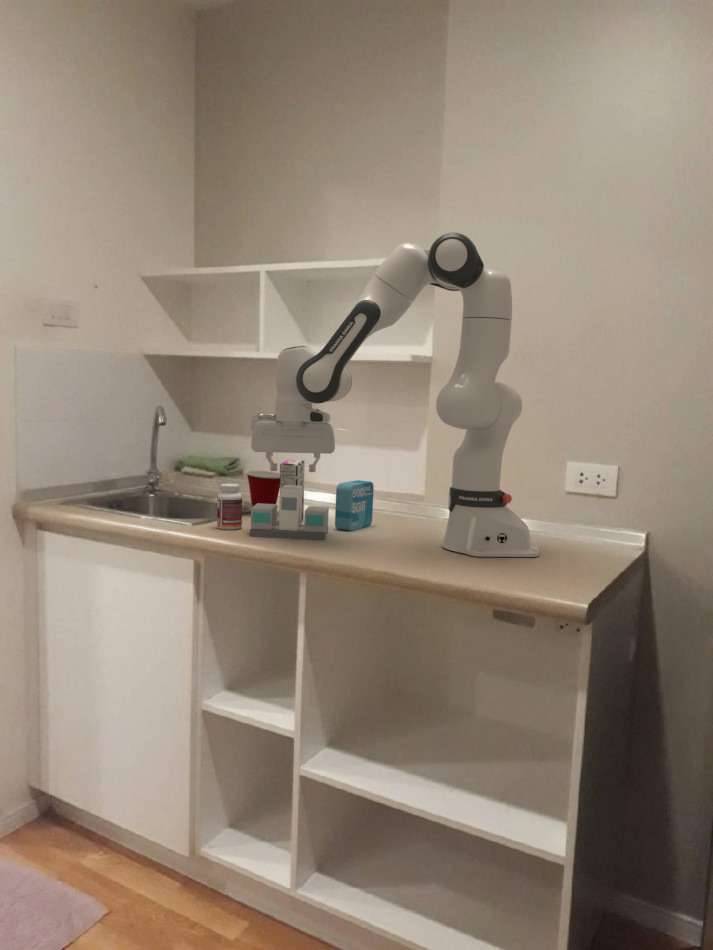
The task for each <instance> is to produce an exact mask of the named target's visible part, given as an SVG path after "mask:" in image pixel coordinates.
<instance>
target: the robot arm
mask: <svg viewBox="0 0 713 950" xmlns="http://www.w3.org/2000/svg"><path fill="white" fill-rule="evenodd" d="M427 285H431V286H434V287H438V288H441V289H443V290H447V291H450V292H458V291H459V292H460V293H461V296H462V304H463V306H462V307H463V308H462V318H461V319H462V321H461V331H460V332H461V333H460V344H459V350H458V351H459V352H458V357H457V360H456V364H455V366H454V369H453V372H452V374H451V376H450V378H449V380H448V381H447V383H446V384H445V385H444V386H443V387H441V388H442V389H441V390H440V391H439V392H438V394H437V397H436V401H435V409H436V412H437V416H438V417H439V418H440V420H441V421H442V423H444V424H445V425H448V426H450V427H453V428H457V429H459V430H466V431H465V434H464V438H463V440H462V442H461V443H460V445H459V446H458V448H457V449H455V452H454V454H453V457H452V458H453V459H452V474H451V475H452V476H451V477H452V478H451V480H452V481H451V486H450V487H449V492H448V500H447V501H448V506H447V508H448V511H449V512H448V518H447V523H446V524H447V525H446V530H445V533H444V536H443V540H442V542H441V547H442V548H444V549H446V550H448V551H453V552H455V553H462V554H465V555H468V556H472V557H479V558H480V557H485V558H487V557H497V558H498V557H501V558H503V557H504V558H506V557H508V558H509V557H510V558H511V557H512V558H514V557H515V558H535V557H538V556H540V549H539V547H538V546H537V545H536V544H534V543H532V542H531V535H530V529H529V526H528V525H527V523H526V522H525V521H524V520H522V519H521V518H520V516H518V515H517V514H516V513H515V512H514V511H513V510H512V509H510V508H509V507H508V506H507V505H508V504H511V502H512V501H513V496H512V495H511V494H509V493H506V492H504V491H503V490H501V489H500V487H501V474H502V461H503V454H504V452H505V451H504V450H505V447H506V443H507V440H508V438H509V435H510V432H511V430H512V427H513V425H514V424H515V423H516V421H517V420H518V419H519V418H520V416H521V413H522V410H523V400H522V398H521V395H520V393H519V392H518V391H517V390H516V389H515V388H513V387H511V386H509V385H507V384H505V383H502V382H499V381H498V382H496V378H497V375H498V372H499V370H500V368H501V367H502V366H501V365H502V364H503V363H504V362H505V361H506V360H507V359H508V356H509V354H510V345H511V335H512V334H511V332H512V318H513V294H512V286H511V280H510V278H509V276H508V275H507V274H506V273H504V272H503V271H501V270H498V269H493V268H486V267H485V264H484V261H483V260H482V258H481V256H480V253H479V252H478V250H477V246H476V245H475V244H474V242H473V241H472V240H471V239H470V238H469V237H468V236H467V235H465V234H463V233H459V232H448V233H443V234H442V235H440V236H439V237H438V238H437V239H435V240H434V241H433V243H432V244H431V246H430V249H425V248H423V246H420V245H418V244H417V243H413V242H402V243H400V244H399V245H398V246H396V247H395V248H394V250H392V252H390V254H389V255H387V257H386V258H385V260H383V261H382V263H381V264H380V265H379V266H378V267H377V269H376V271H375V272H374V273H373V275H372V276H371V278H370V279H369V281H368V282H367V284H366V286H365V288H364V289H363V291H362V292H361V294H360V296H359V298H358V300H357V301H356V302H355V304H354V306H353V307H352V308H351V310H350V312H349V314H347V316H346V318H345V319H344V320H343V321H342V323H341V324H340V326H339V327H338V328H337V329H336V331H335V332H334V333H333V334H332V336H331V337H330V339H329V340H328V341H327V343H326V344H325V346H324V347H323V348H322V349H320V351H319V352H318V353H317V352H316V351H314V350H313V349H311V348H310V347H309V346H307V345H300V346H290V347H287V348H284V349H283V350H281V351H280V352H279V354H278V356H277V362H276V368H275V369H276V371H275V386H276V390H277V391H276V392H277V393H276V397H275V408H274V409H275V413H266V414H265V413H257V414H256V415H254V416H253V417H252V418H251V420H250V429H251V431H252V436H251V442H250V446H251V450H252V451H253V452H254V453H265V458H266V460H267V462H268V463H269V465H270V467H269V471H271V472H277V471H278V463H275V462H274V461H273V458H272V457H273V456H274V453H287V454H288V453H291V454H292V453H294V454H296V453H297V454H313V458H314V459H315V460H314V462H313V463H312V464H309V465H308V472H309V473H316V470H317V469H316V468H317V463H318V462H319V460H320V458H321V454H326V455H328V454H332V453H334V452H335V450H336V441H335V432H334V431H335V430H334V428H333V425H332V424H330V423H329V422H330V421H331V415H330V413H328V412H326V411H325V412H324V411H321V409H318V408H317V409H316V408H313V404H324V403H329V402H330V403H331V402H336V401H340V400H341V399H343V398H345V397H346V396H347V395H348V394H349V392H350V391H351V389H352V385H353V384H352V383H353V379H352V375H351V372H350V371H349V369H348V368H347V365H348V363H349V362H350V361H351V360H352V358H353V357H354V355H356V353H357V351H358V350H359V349H360V347H361V346H362V345H363V343H364V342H366V340H367V339H368V338H369V337H371V336H372V335H373V334H374V333H376V332H378V331H381V330H383V329H386V328H389V327H391V326H394V325H395V324H396V323H397V322H398V321H399V320H400V319H401V318H402V317H403V316H404V314H406V312H407V311H408V310H409V308H410V307H411V306H412V304H413V302H414V301H415V299H416V298H417V297H418V295H419V294H420V292H421V291H422V290H423V289H424V288H425V287H426V286H427Z"/></svg>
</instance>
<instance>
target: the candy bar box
mask: <svg viewBox="0 0 713 950" xmlns="http://www.w3.org/2000/svg"><path fill="white" fill-rule="evenodd" d="M279 473H280V489H281V488H282V487H283V486H284V485H292V486H303V488H302V519H301V522H302V520H304V515H305V508H304V507H305V506H304V505H305V501H304V500H305V497H304V496H305V460H304V459H292V458H291V459H287V460H285V461H283V462H281V463H280V464H279ZM280 489H279V490H280ZM278 508H279V512H278V513H279V515H280V507H278ZM279 515H278V516H279Z"/></svg>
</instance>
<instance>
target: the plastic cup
mask: <svg viewBox="0 0 713 950" xmlns="http://www.w3.org/2000/svg"><path fill="white" fill-rule="evenodd" d="M245 474H246V476H247V481H248V485H249V487H248V488H249V494H250V502H251V508H252V507H253V506H255V505H256V504H257V503H260V504H277V502H278V498H279V495H280V472H277V471H270V470H261V469H259V470H258V469H257V470H256V469H253V470H246V471H245Z"/></svg>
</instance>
